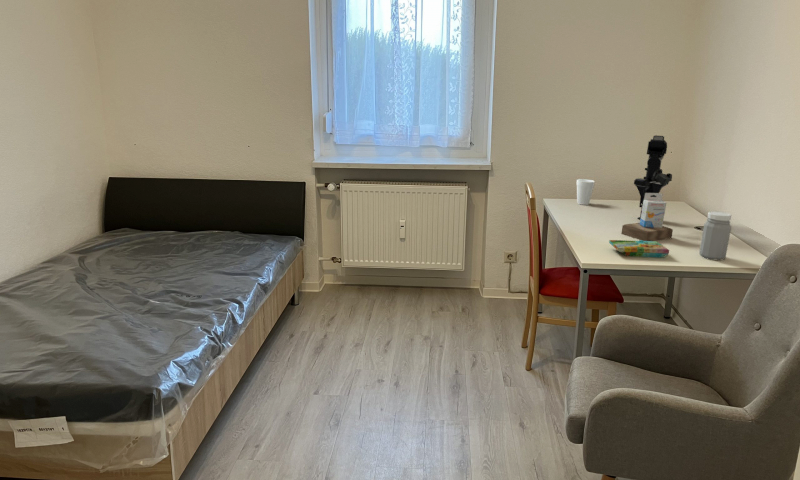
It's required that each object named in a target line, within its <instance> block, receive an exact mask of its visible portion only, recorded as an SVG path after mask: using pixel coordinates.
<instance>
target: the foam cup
mask: <svg viewBox="0 0 800 480" xmlns="http://www.w3.org/2000/svg"><path fill="white" fill-rule="evenodd" d="M595 183H596V182H595V180H592V179H585V178H578V179H576V183H575V184H576V203H578V205H580V204H581V205H580V206H588V205H589V204H590V203H591V202H590V201H591V198H592V194H593V191H594V186H595Z"/></svg>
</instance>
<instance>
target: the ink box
mask: <svg viewBox="0 0 800 480" xmlns="http://www.w3.org/2000/svg"><path fill="white" fill-rule="evenodd" d="M652 195H655V196H656V197H650V196H652ZM641 208H642V213H641V212H640V214H641V219H639V220H640V221H639V223H640V225H641V226H643V227H653V228H662V226H664V225H663V224H664V219H665V213H666V208H667V202H666V201H664V200H663V193H662V192H661V193H660V192H659V193H645V197H644V201H643V207H641Z"/></svg>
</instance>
